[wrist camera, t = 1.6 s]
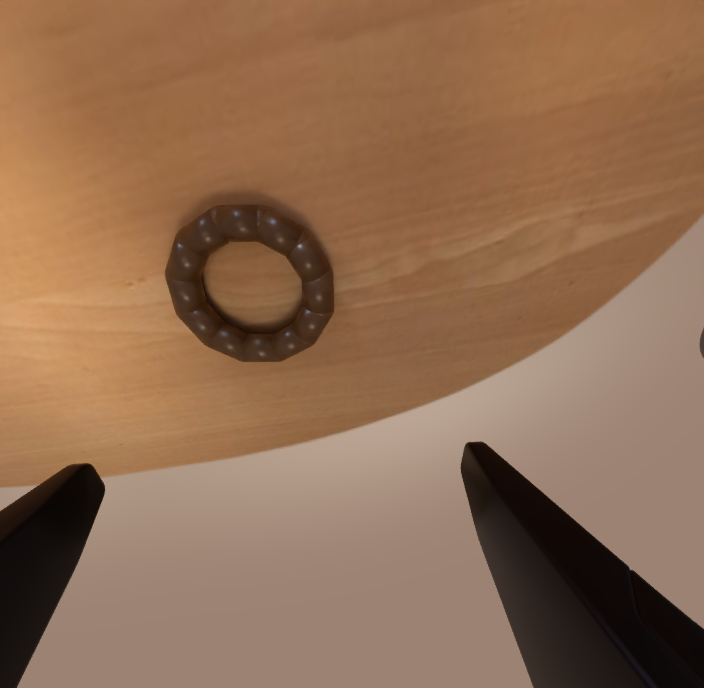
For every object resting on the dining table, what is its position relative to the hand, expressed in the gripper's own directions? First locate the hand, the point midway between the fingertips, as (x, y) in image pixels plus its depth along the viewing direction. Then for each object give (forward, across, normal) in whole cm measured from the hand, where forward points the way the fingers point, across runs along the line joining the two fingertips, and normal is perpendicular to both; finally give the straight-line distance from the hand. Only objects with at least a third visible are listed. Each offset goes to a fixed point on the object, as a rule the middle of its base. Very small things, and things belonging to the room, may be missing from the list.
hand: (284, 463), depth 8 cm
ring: (+11, +3, 0) cm, 11 cm away
